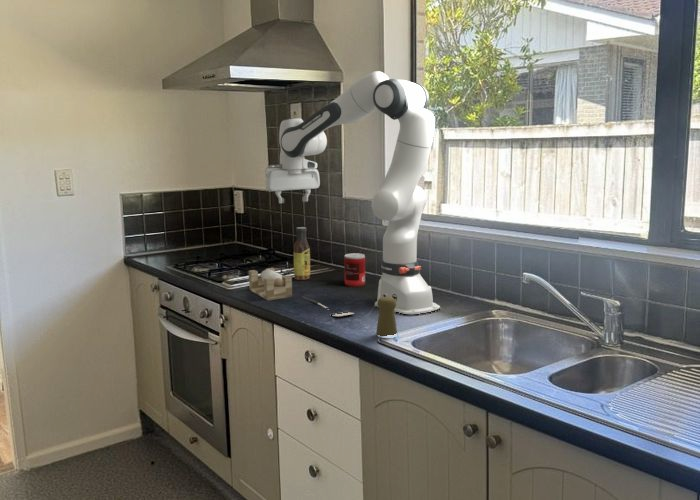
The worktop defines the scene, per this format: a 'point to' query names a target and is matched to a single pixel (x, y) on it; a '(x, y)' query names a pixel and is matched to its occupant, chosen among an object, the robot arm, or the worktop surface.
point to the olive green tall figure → (386, 316)
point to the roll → (273, 277)
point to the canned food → (354, 269)
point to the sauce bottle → (301, 255)
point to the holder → (269, 286)
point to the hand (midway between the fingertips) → (293, 202)
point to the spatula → (326, 307)
